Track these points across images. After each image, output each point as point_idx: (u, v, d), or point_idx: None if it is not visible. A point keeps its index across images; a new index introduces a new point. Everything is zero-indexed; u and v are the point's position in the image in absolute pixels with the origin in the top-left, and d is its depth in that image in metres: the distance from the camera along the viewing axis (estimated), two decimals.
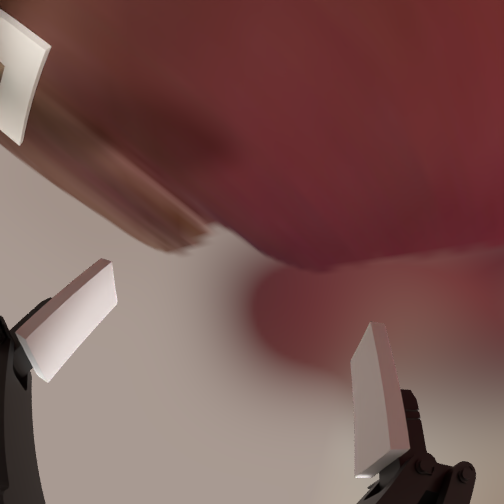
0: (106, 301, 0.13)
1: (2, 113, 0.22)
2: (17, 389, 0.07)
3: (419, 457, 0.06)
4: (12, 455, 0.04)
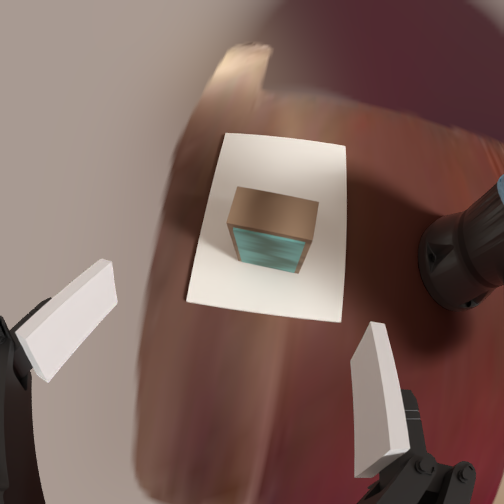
0: (106, 301, 0.13)
1: (227, 272, 0.37)
2: (17, 389, 0.07)
3: (419, 457, 0.06)
4: (12, 455, 0.04)
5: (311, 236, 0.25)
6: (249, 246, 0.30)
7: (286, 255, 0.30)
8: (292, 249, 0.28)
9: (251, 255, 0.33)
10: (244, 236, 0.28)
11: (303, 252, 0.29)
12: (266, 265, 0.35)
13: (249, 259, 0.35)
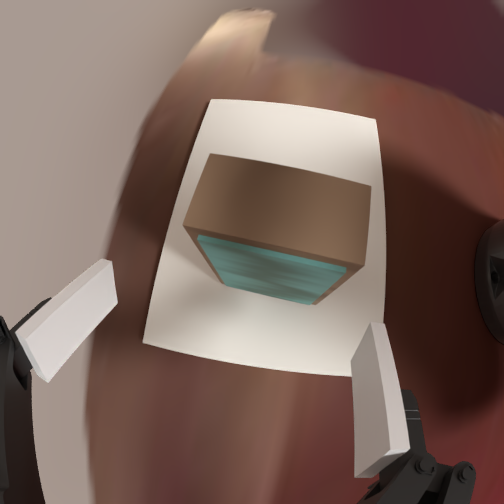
0: (106, 301, 0.13)
1: (203, 301, 0.23)
2: (17, 389, 0.07)
3: (419, 457, 0.06)
4: (13, 455, 0.04)
5: (361, 257, 0.11)
6: (234, 268, 0.16)
7: (302, 285, 0.16)
8: (316, 278, 0.14)
9: (240, 280, 0.19)
10: (222, 252, 0.14)
11: (335, 282, 0.15)
12: (265, 293, 0.22)
13: (237, 284, 0.21)
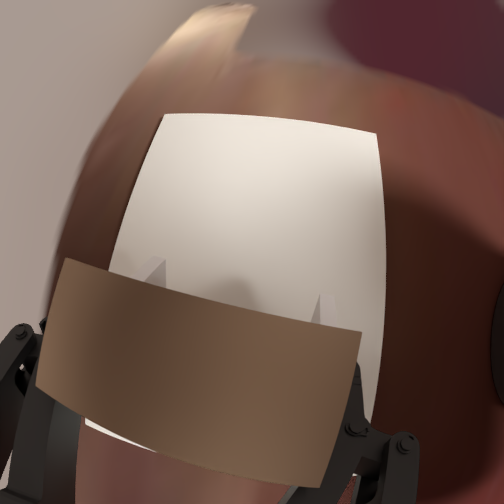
0: None
1: None
2: None
3: (348, 419, 0.07)
4: (52, 466, 0.04)
5: (315, 476, 0.05)
6: None
7: None
8: None
9: None
10: None
11: None
12: None
13: None
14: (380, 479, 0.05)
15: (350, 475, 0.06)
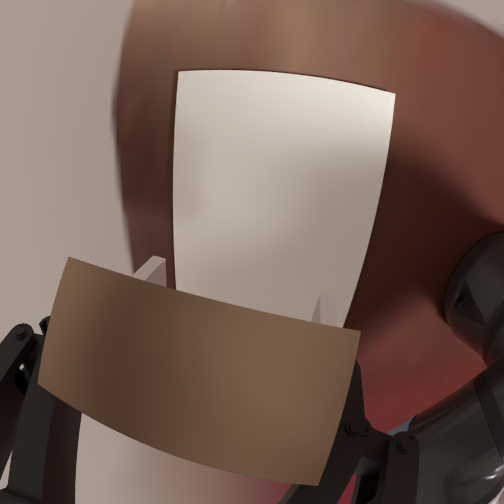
0: None
1: (213, 292, 0.32)
2: None
3: (348, 419, 0.07)
4: (52, 466, 0.04)
5: (314, 474, 0.05)
6: None
7: None
8: None
9: None
10: None
11: None
12: None
13: None
14: (380, 479, 0.05)
15: (350, 475, 0.06)
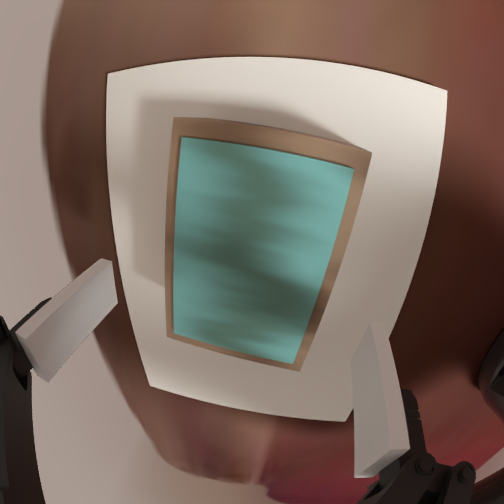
0: (106, 301, 0.13)
1: (186, 369, 0.23)
2: (17, 389, 0.07)
3: (419, 457, 0.06)
4: (13, 455, 0.04)
5: (366, 150, 0.10)
6: (204, 229, 0.12)
7: (294, 258, 0.12)
8: (317, 211, 0.11)
9: (201, 288, 0.13)
10: (202, 167, 0.11)
11: (339, 238, 0.11)
12: (230, 338, 0.14)
13: (193, 314, 0.14)
14: None
15: None
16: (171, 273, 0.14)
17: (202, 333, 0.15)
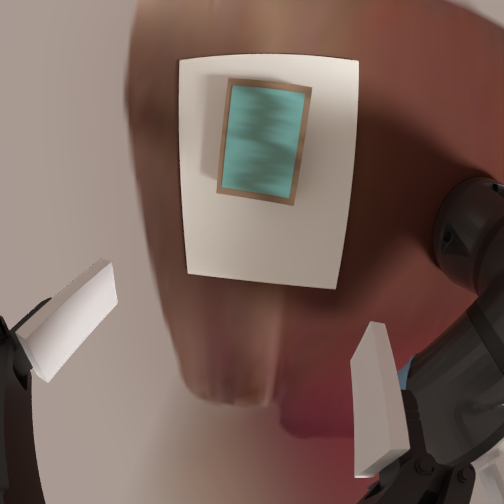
0: (106, 301, 0.13)
1: (218, 246, 0.36)
2: (17, 389, 0.07)
3: (419, 457, 0.06)
4: (13, 455, 0.04)
5: (310, 87, 0.23)
6: (242, 123, 0.25)
7: (283, 133, 0.25)
8: (291, 111, 0.24)
9: (239, 154, 0.26)
10: (242, 97, 0.24)
11: (302, 123, 0.24)
12: (254, 184, 0.27)
13: (234, 171, 0.27)
14: None
15: None
16: (223, 149, 0.27)
17: (238, 183, 0.28)
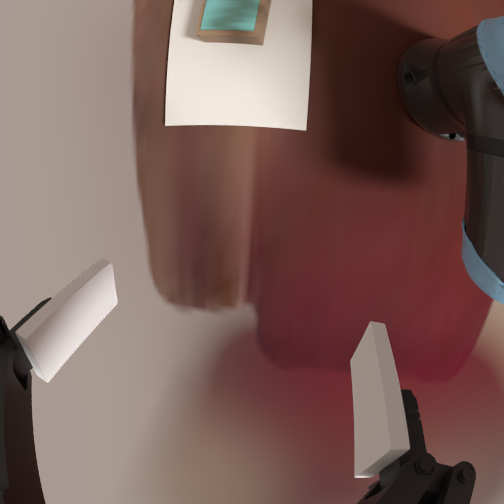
0: (106, 301, 0.13)
1: (195, 93, 0.34)
2: (17, 389, 0.07)
3: (419, 457, 0.06)
4: (13, 455, 0.04)
5: None
6: None
7: None
8: None
9: (216, 6, 0.25)
10: None
11: None
12: (225, 24, 0.26)
13: (211, 17, 0.25)
14: None
15: None
16: (204, 6, 0.25)
17: (213, 25, 0.26)
